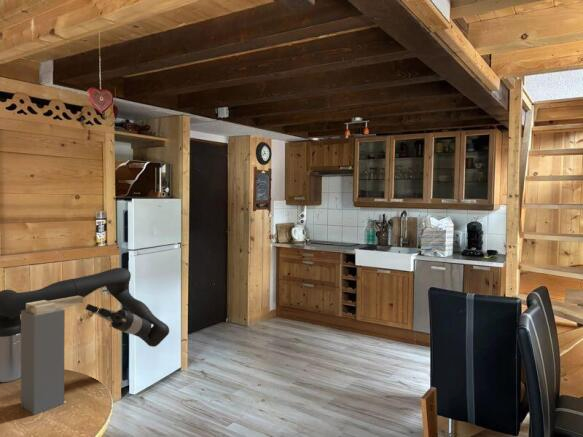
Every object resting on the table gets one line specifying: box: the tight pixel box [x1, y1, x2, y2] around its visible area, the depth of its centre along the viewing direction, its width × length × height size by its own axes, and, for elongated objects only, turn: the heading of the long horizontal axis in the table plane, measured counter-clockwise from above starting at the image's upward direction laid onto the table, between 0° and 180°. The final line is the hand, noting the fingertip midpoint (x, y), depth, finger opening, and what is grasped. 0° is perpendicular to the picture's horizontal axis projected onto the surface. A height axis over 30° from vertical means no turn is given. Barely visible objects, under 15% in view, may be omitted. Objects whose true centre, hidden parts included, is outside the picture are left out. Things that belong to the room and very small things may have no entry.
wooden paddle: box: [26, 296, 84, 315], centre depth 147 cm, size 7×16×2 cm, turn 145°
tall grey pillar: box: [20, 308, 66, 416], centre depth 144 cm, size 9×10×32 cm
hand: (93, 308), depth 158 cm, fingers open, 8 cm apart
